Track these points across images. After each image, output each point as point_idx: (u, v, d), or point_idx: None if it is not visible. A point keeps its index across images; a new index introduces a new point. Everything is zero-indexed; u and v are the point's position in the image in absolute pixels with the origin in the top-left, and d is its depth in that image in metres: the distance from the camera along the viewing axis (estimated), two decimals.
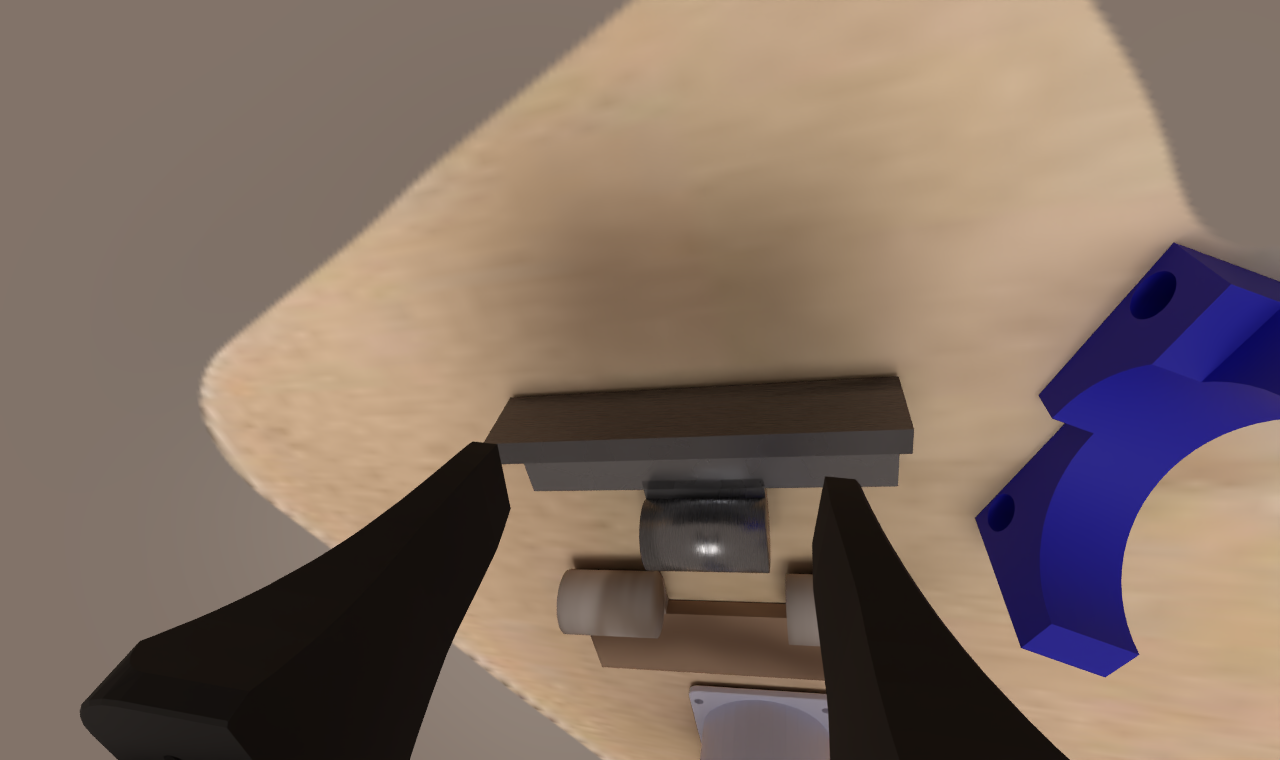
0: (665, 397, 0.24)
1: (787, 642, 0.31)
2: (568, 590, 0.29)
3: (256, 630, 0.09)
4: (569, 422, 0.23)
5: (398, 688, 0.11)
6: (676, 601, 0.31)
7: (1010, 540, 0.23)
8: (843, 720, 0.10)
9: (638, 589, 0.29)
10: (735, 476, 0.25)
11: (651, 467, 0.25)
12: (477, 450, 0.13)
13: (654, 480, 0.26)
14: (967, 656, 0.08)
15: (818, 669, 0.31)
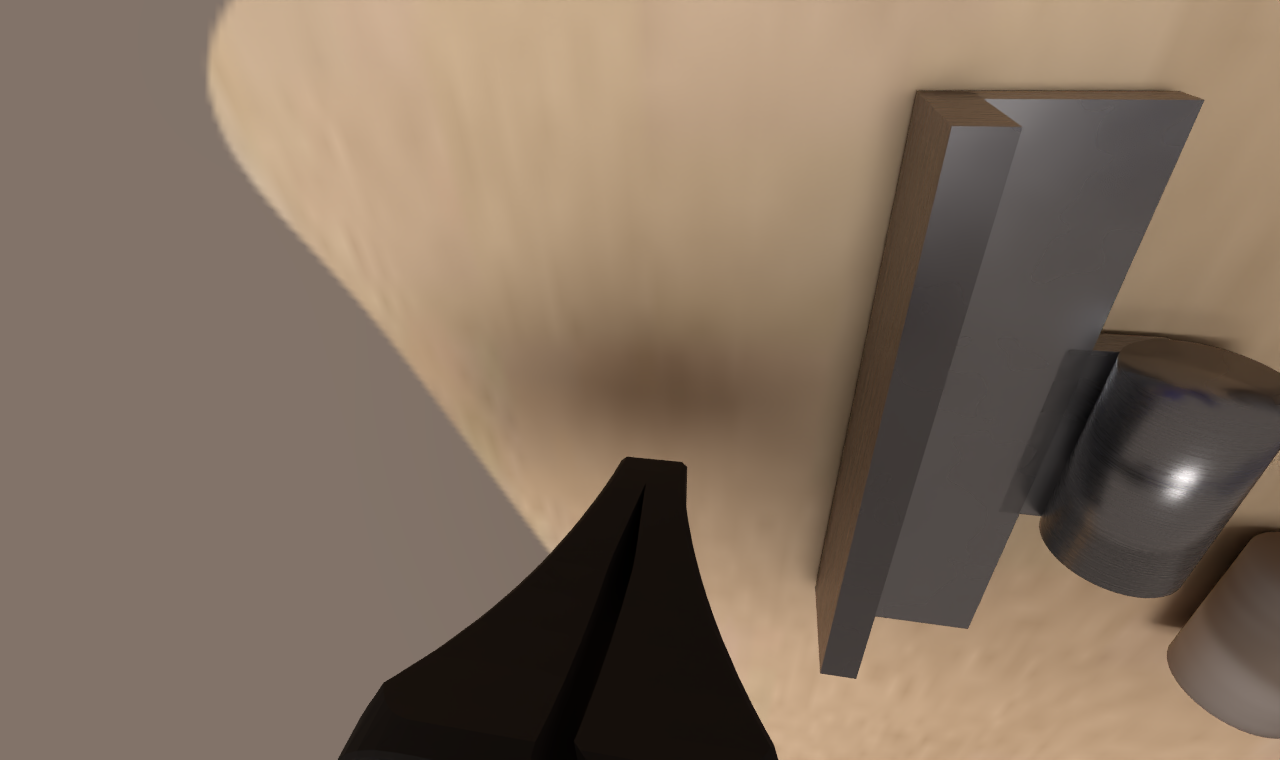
0: (849, 442, 0.16)
1: None
2: (1192, 680, 0.17)
3: (499, 668, 0.08)
4: (833, 571, 0.17)
5: None
6: None
7: None
8: None
9: (1253, 597, 0.15)
10: (1047, 386, 0.14)
11: (974, 494, 0.16)
12: (637, 465, 0.13)
13: (1004, 496, 0.16)
14: (708, 620, 0.09)
15: None
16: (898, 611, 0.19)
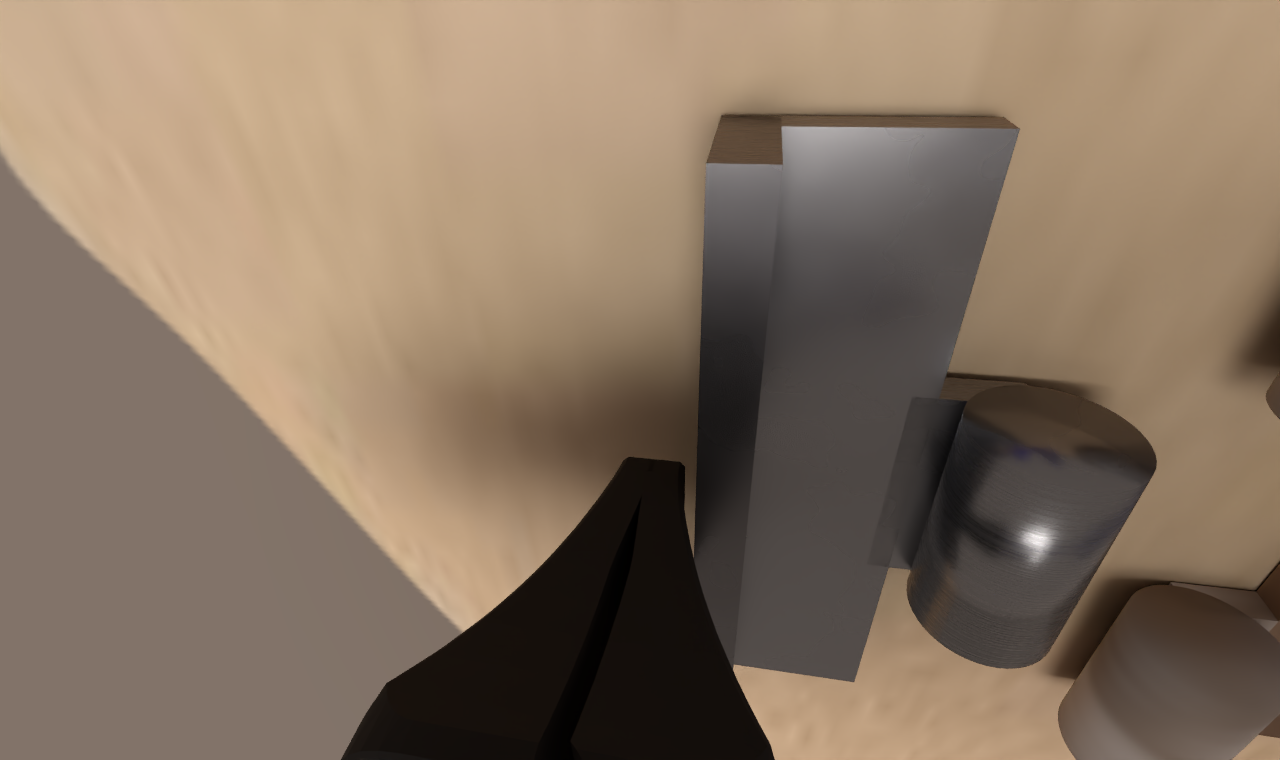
0: None
1: None
2: (1078, 742, 0.16)
3: (501, 669, 0.08)
4: None
5: None
6: (1267, 582, 0.14)
7: None
8: None
9: (1130, 661, 0.14)
10: (899, 435, 0.13)
11: (839, 546, 0.15)
12: (639, 466, 0.13)
13: (870, 549, 0.15)
14: (706, 620, 0.09)
15: None
16: (780, 663, 0.18)
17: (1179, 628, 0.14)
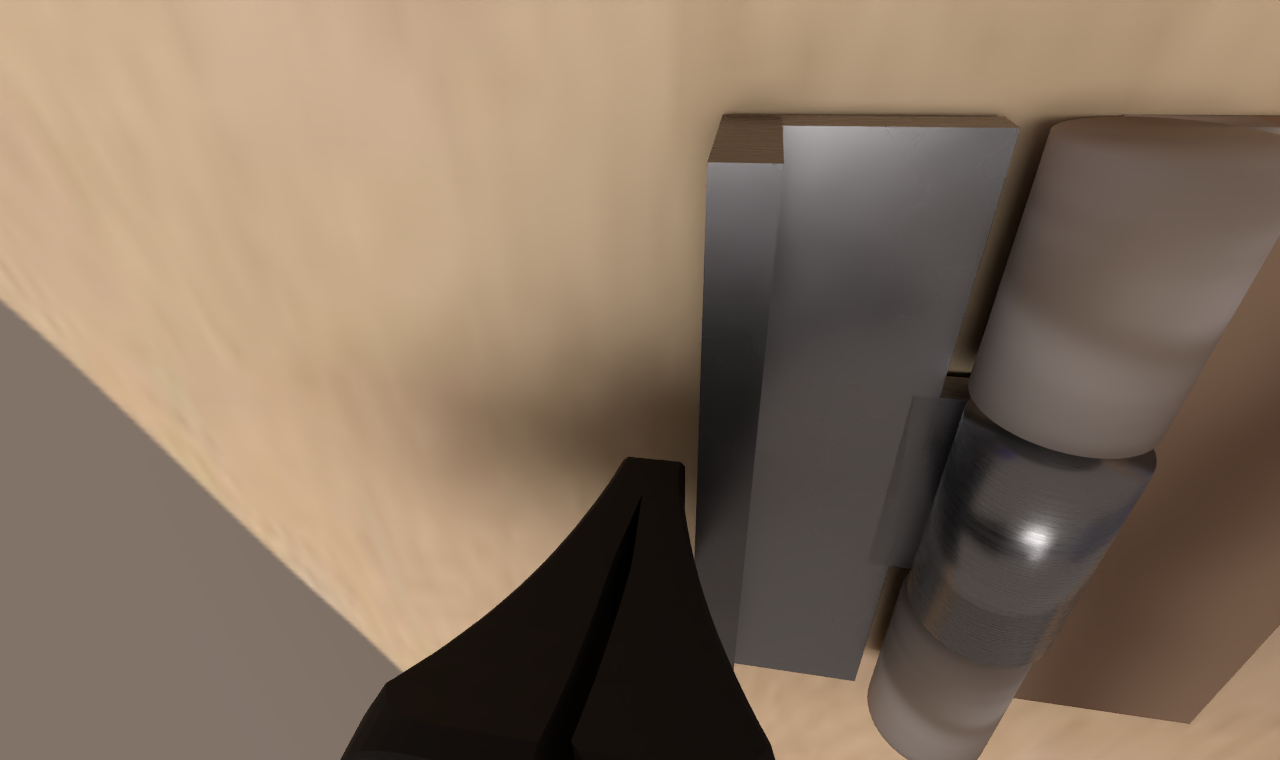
0: None
1: (1264, 403, 0.11)
2: (876, 710, 0.17)
3: (501, 669, 0.08)
4: None
5: None
6: None
7: None
8: None
9: (900, 629, 0.15)
10: (899, 435, 0.13)
11: (839, 545, 0.15)
12: (639, 466, 0.13)
13: (871, 548, 0.15)
14: (706, 620, 0.09)
15: None
16: (781, 662, 0.18)
17: None
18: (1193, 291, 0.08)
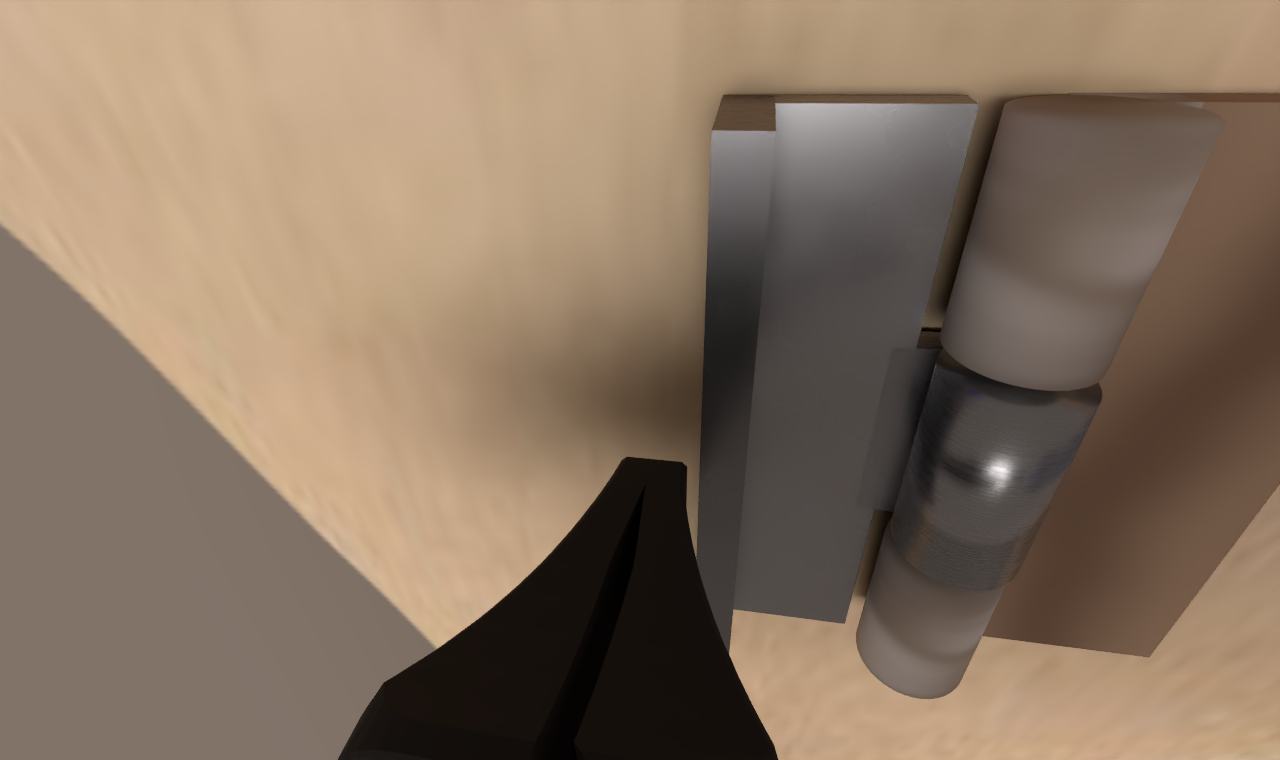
0: None
1: (1198, 348, 0.13)
2: (863, 646, 0.18)
3: (499, 668, 0.08)
4: None
5: None
6: None
7: None
8: None
9: (884, 565, 0.16)
10: (881, 384, 0.14)
11: (829, 490, 0.16)
12: (637, 466, 0.13)
13: (858, 492, 0.16)
14: (708, 620, 0.09)
15: None
16: (777, 607, 0.19)
17: None
18: (1120, 238, 0.10)
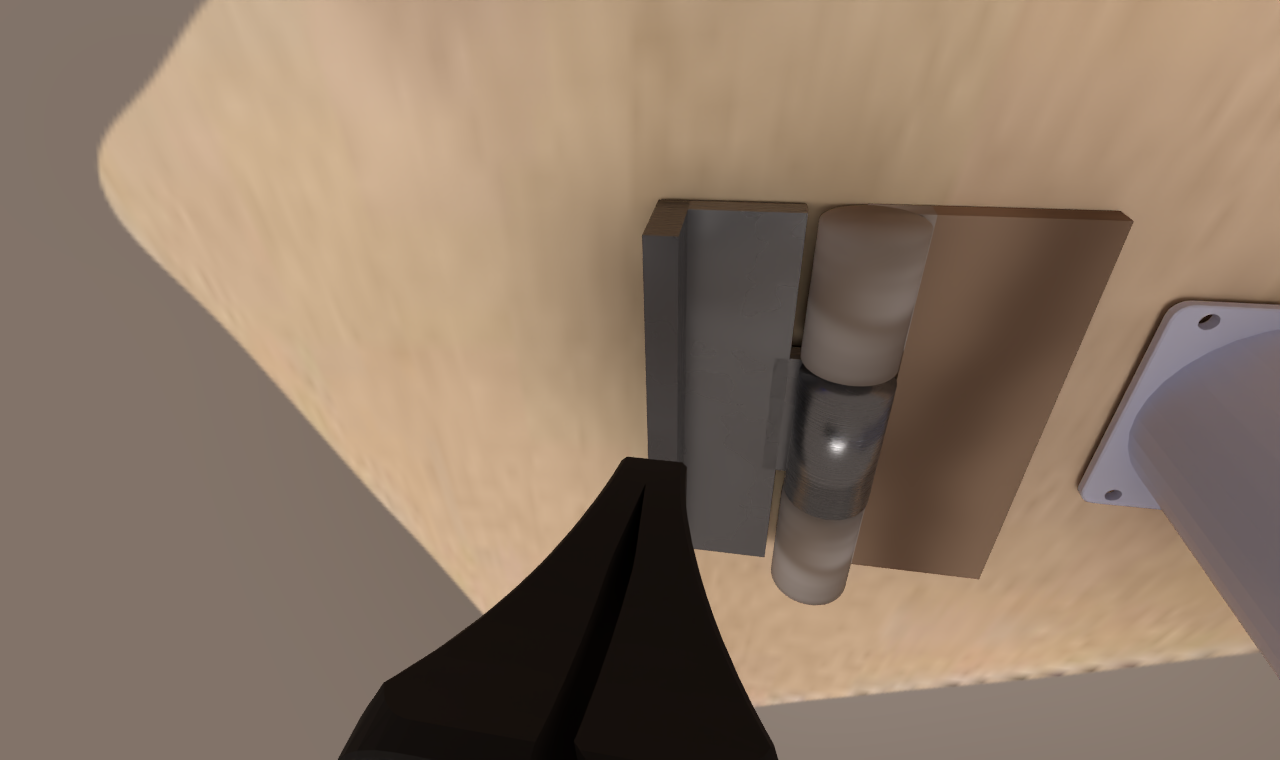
0: None
1: (965, 360, 0.20)
2: (774, 570, 0.25)
3: (499, 669, 0.08)
4: None
5: None
6: None
7: None
8: None
9: (781, 508, 0.23)
10: (771, 382, 0.22)
11: (743, 456, 0.24)
12: (638, 466, 0.13)
13: (763, 457, 0.23)
14: (708, 620, 0.09)
15: (1053, 326, 0.19)
16: (715, 545, 0.27)
17: None
18: (877, 298, 0.17)
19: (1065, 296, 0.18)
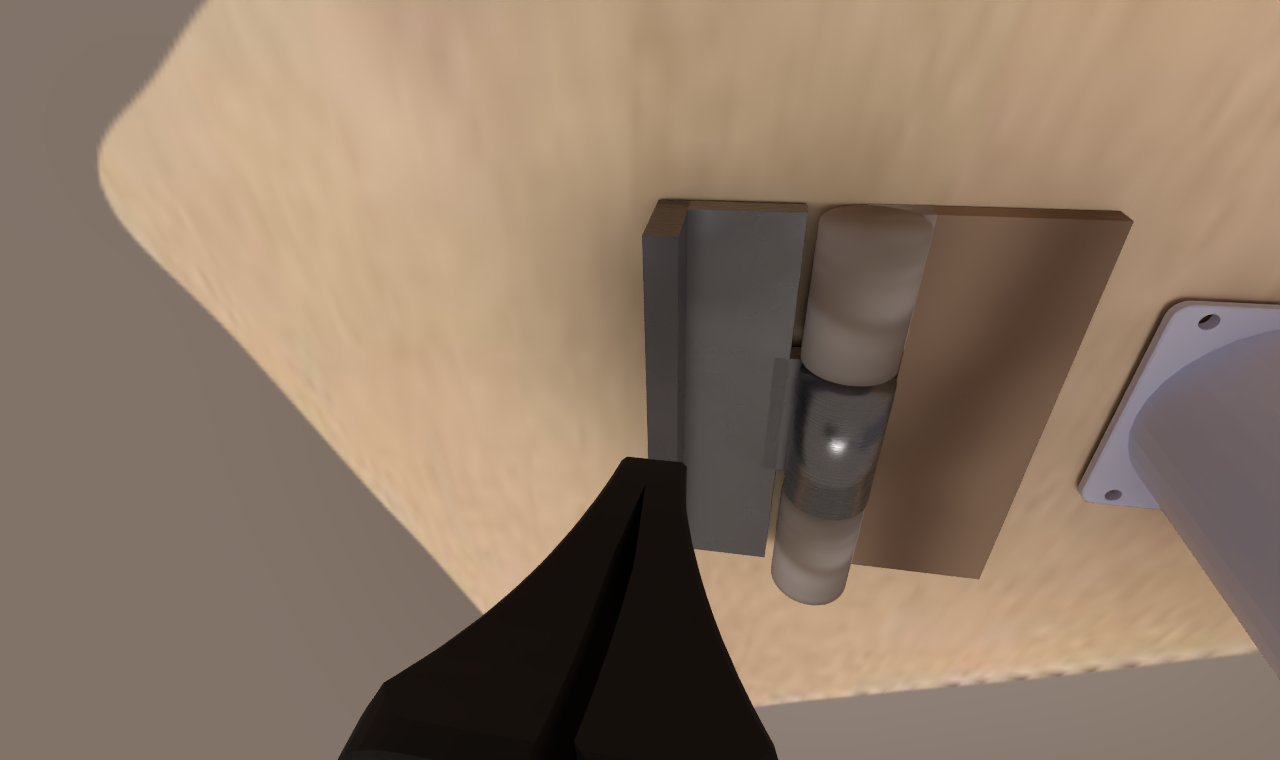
0: None
1: (965, 360, 0.20)
2: (774, 570, 0.25)
3: (499, 668, 0.08)
4: None
5: None
6: None
7: None
8: None
9: (781, 508, 0.23)
10: (771, 382, 0.22)
11: (743, 456, 0.24)
12: (638, 466, 0.13)
13: (763, 457, 0.23)
14: (708, 620, 0.09)
15: (1053, 326, 0.19)
16: (715, 545, 0.27)
17: None
18: (877, 298, 0.17)
19: (1065, 296, 0.18)
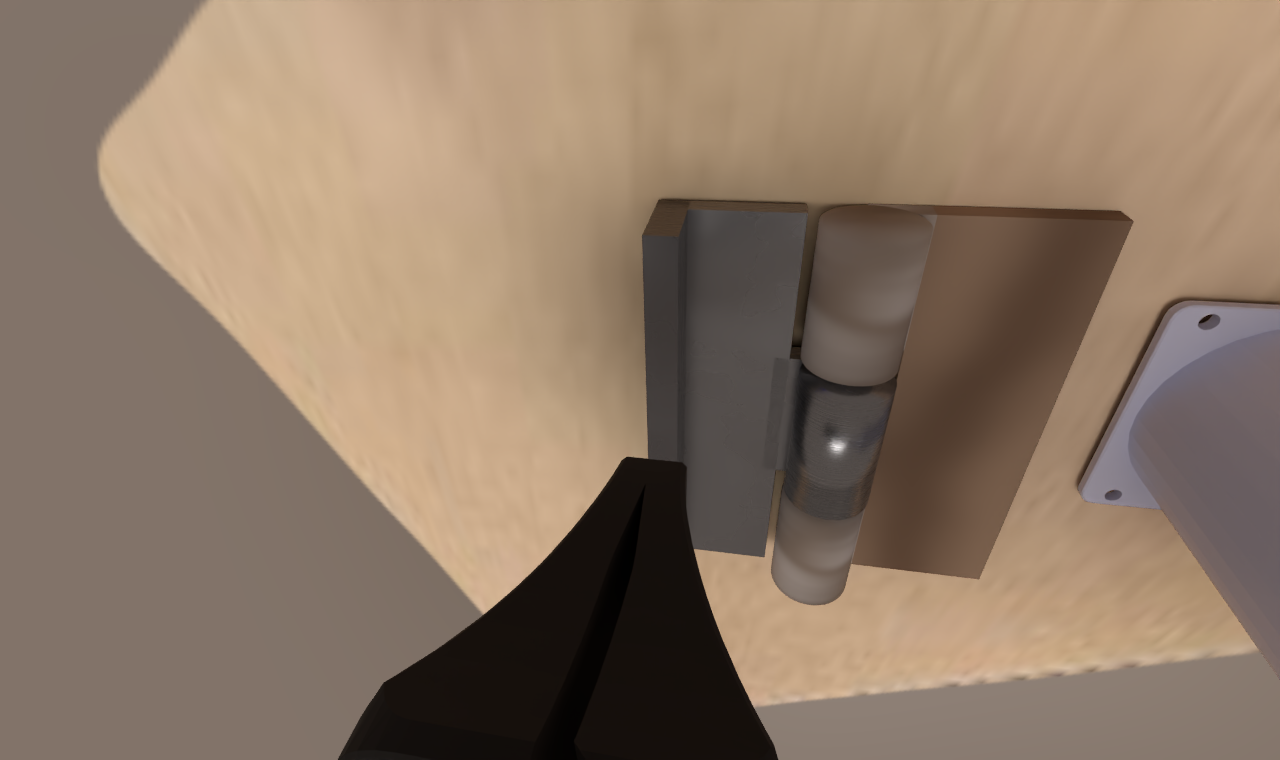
0: None
1: (965, 360, 0.20)
2: (774, 570, 0.25)
3: (499, 668, 0.08)
4: None
5: None
6: None
7: None
8: None
9: (781, 508, 0.23)
10: (771, 382, 0.22)
11: (743, 456, 0.24)
12: (638, 466, 0.13)
13: (763, 457, 0.23)
14: (708, 620, 0.09)
15: (1053, 326, 0.19)
16: (715, 545, 0.27)
17: None
18: (877, 298, 0.17)
19: (1065, 296, 0.18)
